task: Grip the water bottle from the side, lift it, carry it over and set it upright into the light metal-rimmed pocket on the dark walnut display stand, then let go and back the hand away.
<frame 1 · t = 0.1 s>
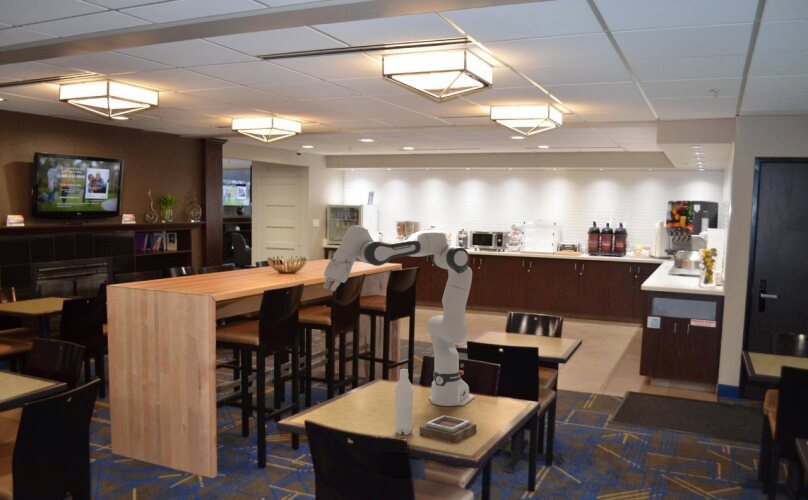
hand: (328, 289, 270), 54 cm above the table, tool tilted 30°, fingers open, 8 cm apart
display stand: (448, 433, 253), on the table
water bottle: (404, 433, 253), on the table
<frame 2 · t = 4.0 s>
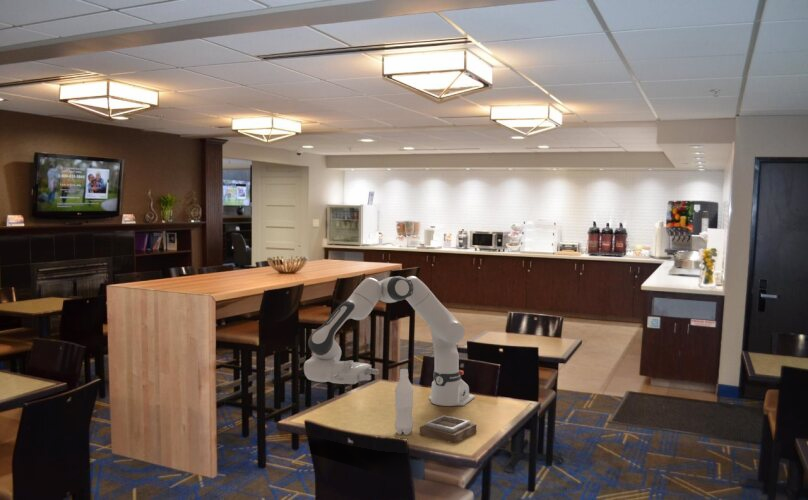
hand: (374, 374, 256), 22 cm above the table, tool horizontal, fingers open, 8 cm apart
nothing on the table moved.
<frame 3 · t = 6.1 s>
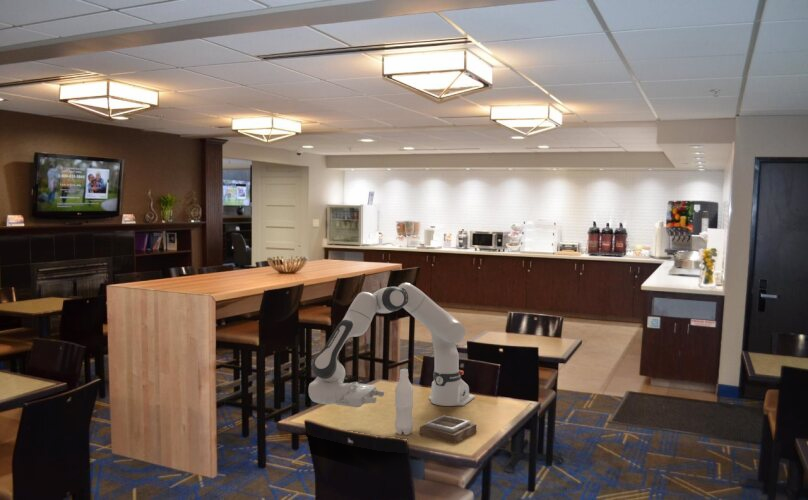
hand: (379, 397, 256), 13 cm above the table, tool horizontal, fingers open, 8 cm apart
nothing on the table moved.
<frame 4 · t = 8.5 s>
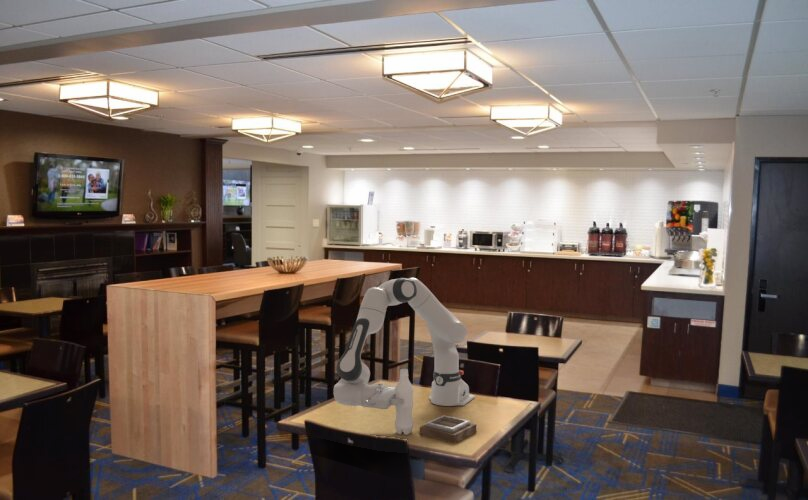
hand: (406, 399, 253), 14 cm above the table, tool horizontal, fingers closed on water bottle, 7 cm apart
water bottle: (404, 433, 253), on the table, touching gripper
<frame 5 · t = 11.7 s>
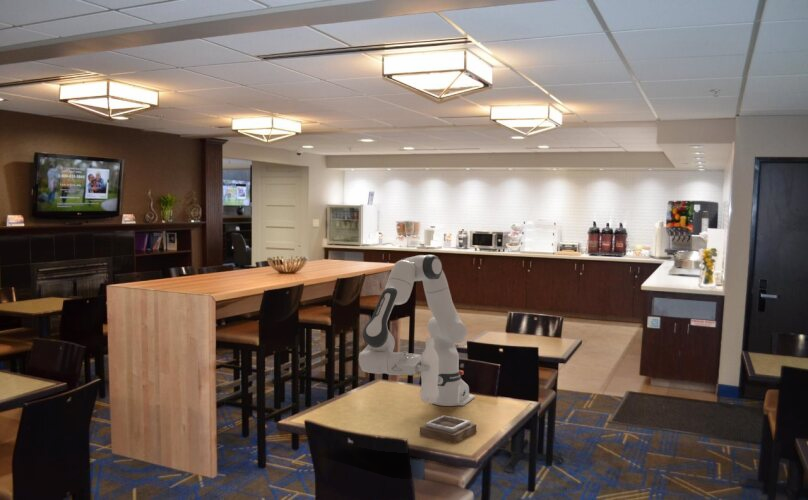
hand: (431, 365, 252), 27 cm above the table, tool horizontal, fingers closed on water bottle, 7 cm apart
water bottle: (429, 402, 253), point 12 cm above the table, touching gripper
when the fingers open (18 cm above the table, at t = 15.2 s): water bottle stays where it is, resting on display stand.
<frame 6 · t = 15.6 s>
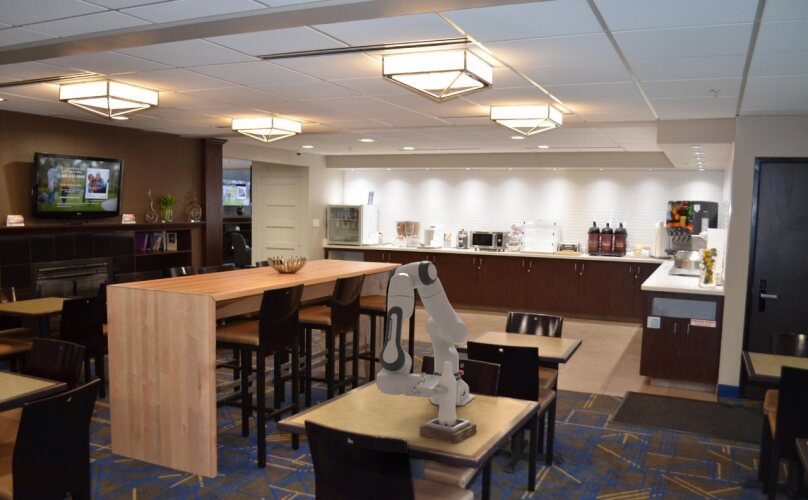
hand: (450, 387, 252), 18 cm above the table, tool horizontal, fingers open, 8 cm apart
water bottle: (447, 426, 253), point 3 cm above the table, touching display stand
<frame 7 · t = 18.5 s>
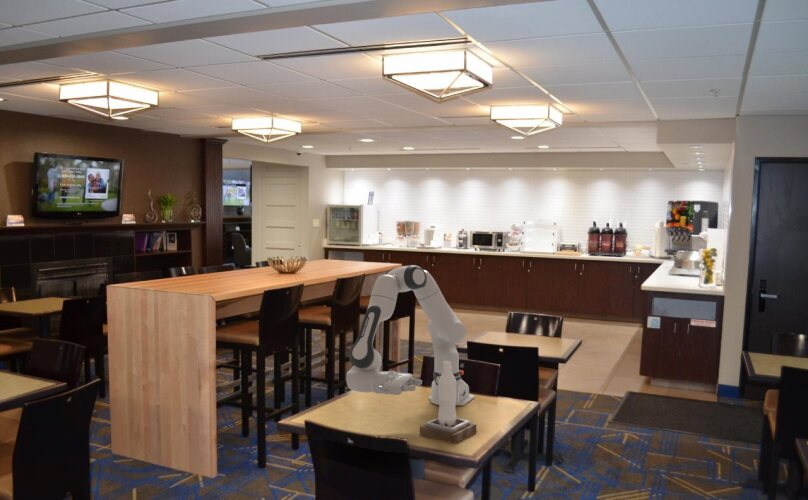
hand: (418, 385, 256), 18 cm above the table, tool horizontal, fingers open, 8 cm apart
nothing on the table moved.
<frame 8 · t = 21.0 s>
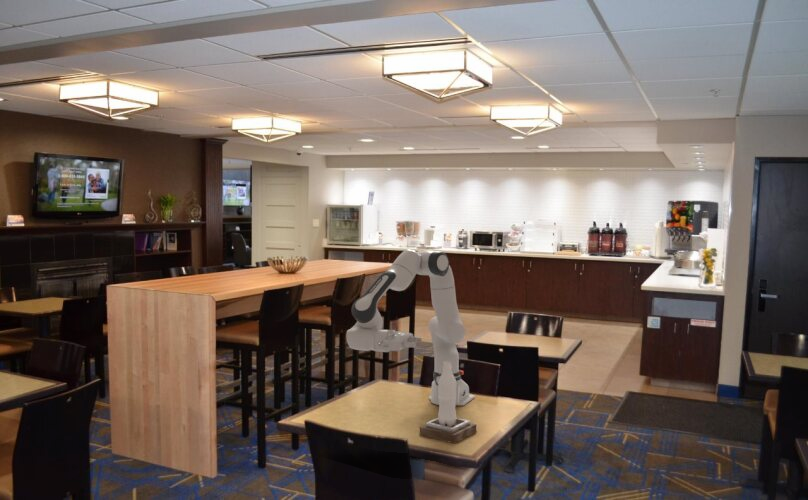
hand: (418, 342, 255), 35 cm above the table, tool horizontal, fingers open, 8 cm apart
nothing on the table moved.
at the end: water bottle 0.4 cm off-centre on the display stand, point 2.8 cm above the display stand's base; water bottle tilted 0°; the gripper is holding nothing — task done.
